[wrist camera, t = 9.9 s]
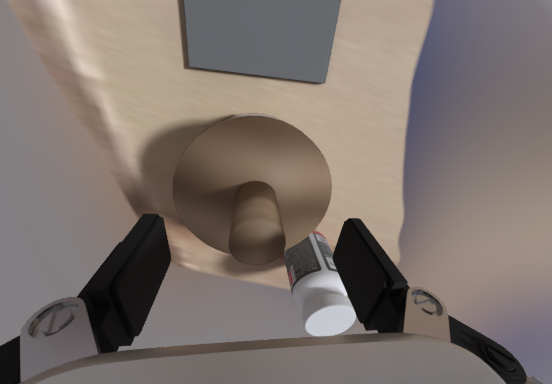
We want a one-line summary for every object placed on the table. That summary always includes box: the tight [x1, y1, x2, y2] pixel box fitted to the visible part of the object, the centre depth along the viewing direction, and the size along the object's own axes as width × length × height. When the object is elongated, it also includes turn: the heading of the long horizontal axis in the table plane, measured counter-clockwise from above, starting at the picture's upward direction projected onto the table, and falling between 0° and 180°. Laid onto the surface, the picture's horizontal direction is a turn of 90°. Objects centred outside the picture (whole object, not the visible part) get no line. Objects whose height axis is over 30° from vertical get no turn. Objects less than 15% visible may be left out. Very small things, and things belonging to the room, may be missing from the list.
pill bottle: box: [283, 230, 356, 336], centre depth 22 cm, size 6×6×10 cm
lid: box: [173, 115, 332, 265], centre depth 14 cm, size 12×12×6 cm
